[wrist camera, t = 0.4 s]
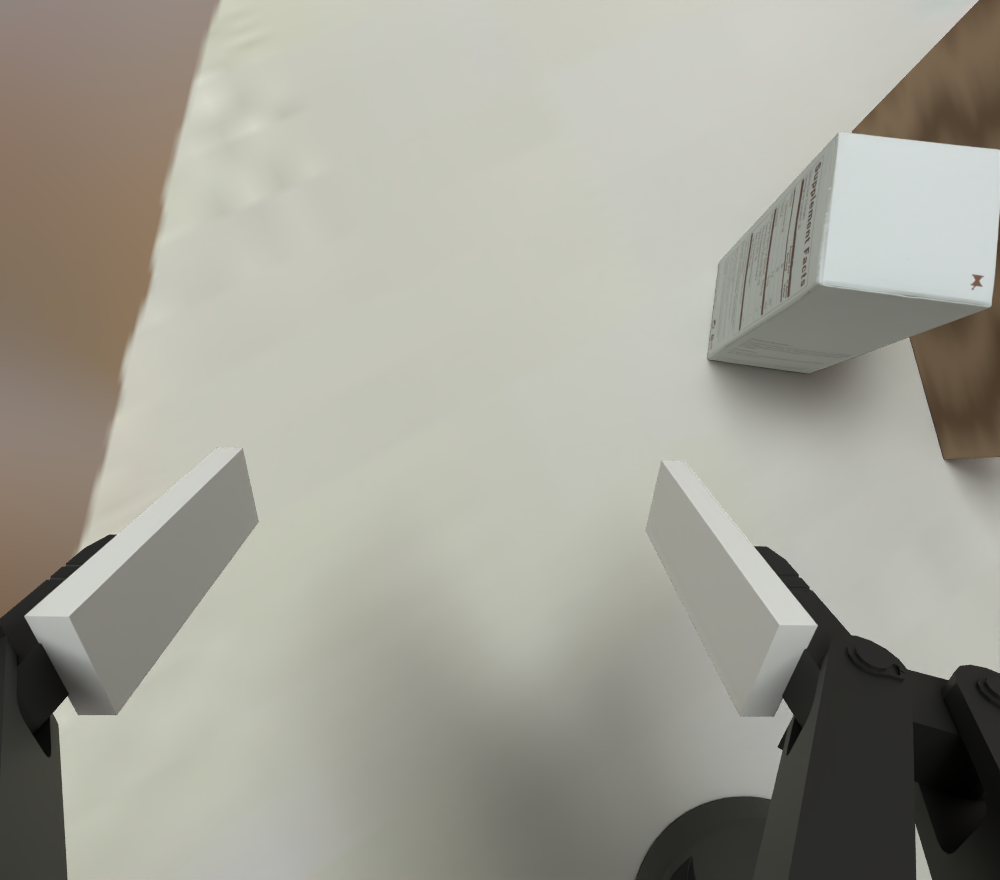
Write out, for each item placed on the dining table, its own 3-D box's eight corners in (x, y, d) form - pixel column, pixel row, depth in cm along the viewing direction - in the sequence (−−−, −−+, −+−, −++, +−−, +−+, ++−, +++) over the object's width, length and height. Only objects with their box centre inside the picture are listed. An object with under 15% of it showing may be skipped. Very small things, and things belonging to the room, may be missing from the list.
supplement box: (822, 274, 33) (1014, 146, 20) (809, 377, 32) (999, 312, 19) (716, 259, 33) (839, 123, 20) (702, 360, 32) (819, 286, 20)
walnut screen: (961, 455, 31) (1170, 445, 21) (943, 459, 31) (1144, 450, 21) (868, 127, 33) (1019, -22, 23) (852, 131, 33) (995, -17, 23)
